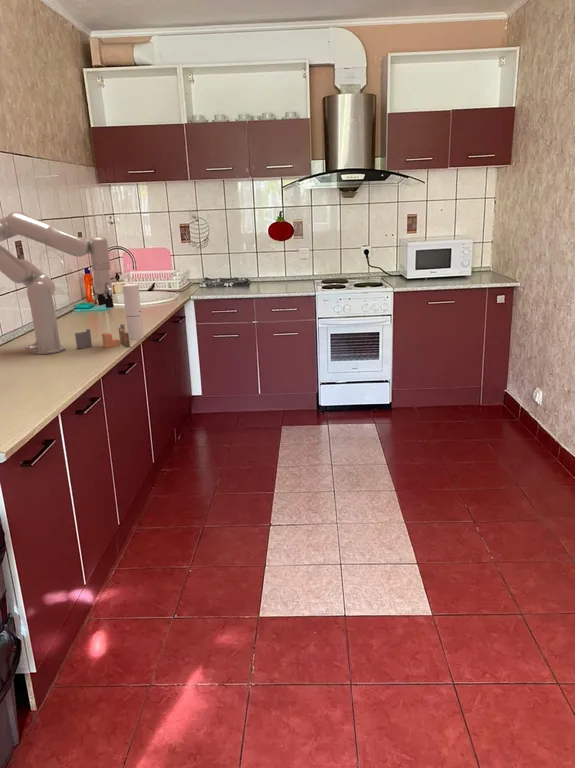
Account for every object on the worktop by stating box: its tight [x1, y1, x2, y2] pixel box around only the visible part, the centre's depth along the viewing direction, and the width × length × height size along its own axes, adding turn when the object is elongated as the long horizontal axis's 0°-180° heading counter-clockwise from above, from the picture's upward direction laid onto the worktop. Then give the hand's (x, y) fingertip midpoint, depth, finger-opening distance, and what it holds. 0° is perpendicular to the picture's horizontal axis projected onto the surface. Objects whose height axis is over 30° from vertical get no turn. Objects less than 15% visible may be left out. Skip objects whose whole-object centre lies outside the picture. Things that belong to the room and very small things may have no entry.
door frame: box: [74, 323, 126, 350], centre depth 266 cm, size 22×2×8 cm, turn 124°
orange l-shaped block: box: [101, 332, 121, 349], centre depth 263 cm, size 6×4×6 cm
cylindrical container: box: [121, 283, 145, 340], centre depth 276 cm, size 7×7×25 cm
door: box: [118, 327, 131, 348], centre depth 266 cm, size 14×1×6 cm, turn 29°
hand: (105, 306), depth 259 cm, fingers open, 9 cm apart
